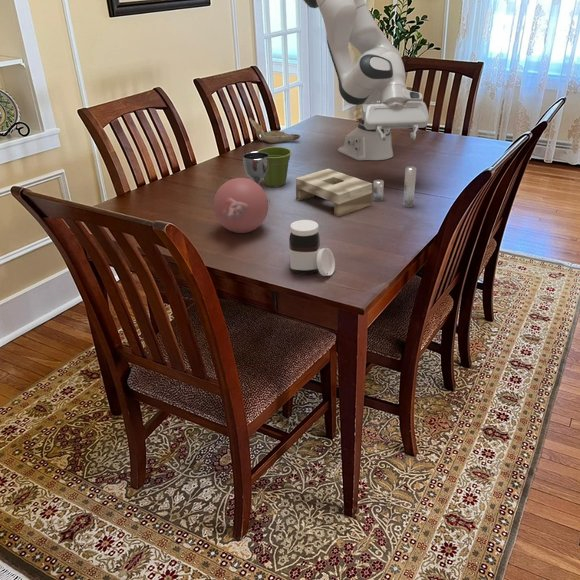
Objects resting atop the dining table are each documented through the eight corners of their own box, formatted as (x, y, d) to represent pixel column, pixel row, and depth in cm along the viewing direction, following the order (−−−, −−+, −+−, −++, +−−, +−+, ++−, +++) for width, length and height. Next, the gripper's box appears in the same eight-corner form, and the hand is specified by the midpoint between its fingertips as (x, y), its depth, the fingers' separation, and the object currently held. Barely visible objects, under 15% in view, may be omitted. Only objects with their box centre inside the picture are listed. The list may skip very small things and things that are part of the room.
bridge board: (296, 199, 191) (295, 178, 188) (328, 188, 199) (328, 168, 195) (338, 216, 178) (339, 194, 174) (371, 204, 185) (372, 183, 182)
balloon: (202, 246, 162) (196, 193, 154) (226, 218, 179) (221, 169, 171) (256, 251, 159) (253, 197, 151) (275, 222, 176) (273, 171, 168)
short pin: (370, 199, 189) (371, 181, 186) (377, 196, 191) (378, 178, 188) (378, 201, 187) (378, 183, 184) (385, 199, 189) (386, 181, 186)
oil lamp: (253, 138, 255) (251, 115, 250) (302, 139, 251) (301, 116, 246) (248, 144, 248) (246, 120, 243) (298, 145, 244) (298, 121, 239)
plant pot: (251, 184, 204) (249, 152, 199) (275, 175, 212) (273, 144, 206) (275, 192, 197) (274, 159, 191) (299, 183, 204) (299, 150, 199)
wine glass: (274, 198, 192) (273, 153, 185) (263, 207, 186) (261, 160, 179) (253, 195, 195) (250, 150, 188) (241, 203, 189) (238, 157, 182)
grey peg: (400, 205, 184) (403, 167, 178) (407, 202, 186) (410, 165, 180) (408, 208, 182) (411, 170, 176) (415, 205, 184) (418, 168, 178)
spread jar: (290, 258, 154) (289, 217, 149) (333, 258, 154) (334, 216, 148) (288, 281, 144) (287, 237, 138) (335, 280, 144) (336, 237, 138)
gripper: (363, 96, 186) (366, 135, 183) (427, 93, 187) (432, 132, 183) (360, 107, 193) (363, 145, 189) (423, 105, 193) (427, 143, 189)
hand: (398, 139), depth 186 cm, fingers open, 8 cm apart
